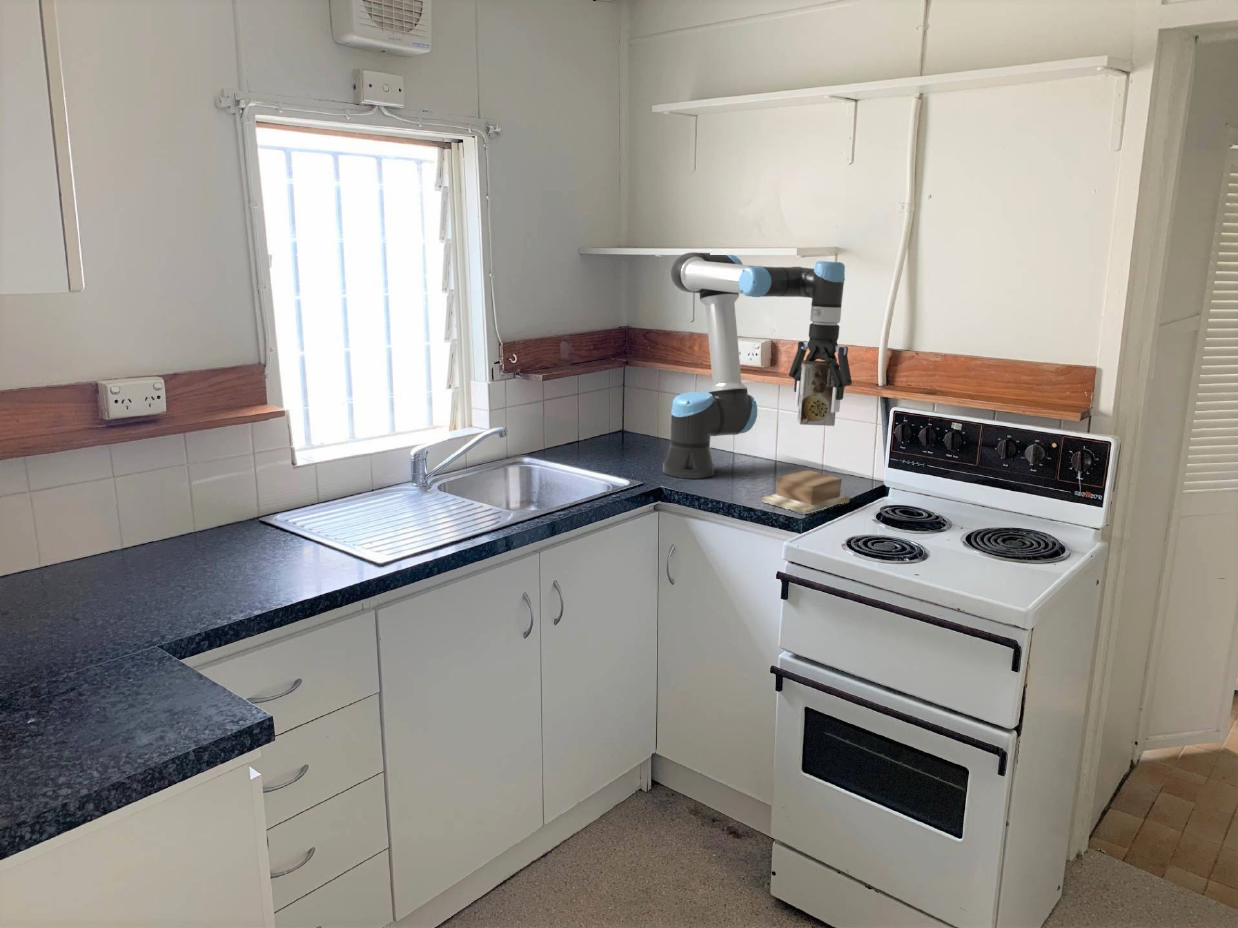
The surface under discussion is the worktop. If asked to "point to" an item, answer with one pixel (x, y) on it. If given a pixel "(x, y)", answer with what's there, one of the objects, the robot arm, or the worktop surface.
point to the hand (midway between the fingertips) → (816, 408)
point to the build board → (802, 506)
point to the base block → (809, 487)
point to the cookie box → (816, 394)
